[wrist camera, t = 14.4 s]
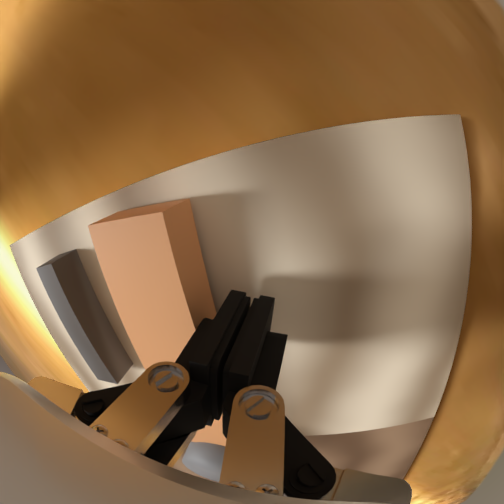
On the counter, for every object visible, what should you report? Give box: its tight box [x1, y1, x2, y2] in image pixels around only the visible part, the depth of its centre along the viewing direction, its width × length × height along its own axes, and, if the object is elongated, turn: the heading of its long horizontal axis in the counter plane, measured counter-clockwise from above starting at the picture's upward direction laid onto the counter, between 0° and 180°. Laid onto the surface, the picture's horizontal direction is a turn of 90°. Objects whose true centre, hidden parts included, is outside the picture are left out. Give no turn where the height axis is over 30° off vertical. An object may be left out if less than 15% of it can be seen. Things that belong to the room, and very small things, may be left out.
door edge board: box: [10, 115, 472, 483], centre depth 16 cm, size 28×34×3 cm
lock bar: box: [88, 198, 227, 482], centre depth 12 cm, size 18×5×3 cm, turn 9°
